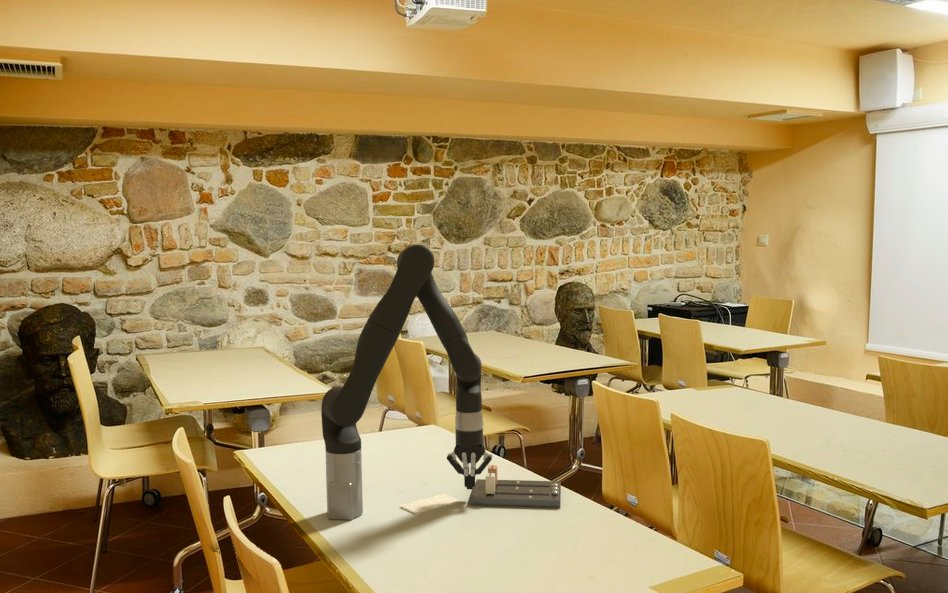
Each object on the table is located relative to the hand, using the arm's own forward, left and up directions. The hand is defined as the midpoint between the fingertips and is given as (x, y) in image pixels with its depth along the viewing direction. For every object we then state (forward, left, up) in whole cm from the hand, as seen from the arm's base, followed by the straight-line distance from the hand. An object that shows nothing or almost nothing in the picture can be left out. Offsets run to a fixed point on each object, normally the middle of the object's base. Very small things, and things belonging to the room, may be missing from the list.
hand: (470, 488), depth 221 cm
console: (+3, -13, -3) cm, 13 cm away
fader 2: (0, -6, -1) cm, 6 cm away
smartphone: (-5, +10, -4) cm, 12 cm away
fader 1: (+7, -6, -1) cm, 9 cm away
